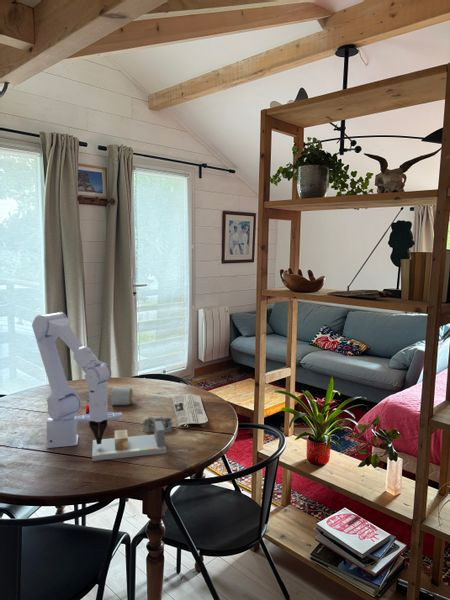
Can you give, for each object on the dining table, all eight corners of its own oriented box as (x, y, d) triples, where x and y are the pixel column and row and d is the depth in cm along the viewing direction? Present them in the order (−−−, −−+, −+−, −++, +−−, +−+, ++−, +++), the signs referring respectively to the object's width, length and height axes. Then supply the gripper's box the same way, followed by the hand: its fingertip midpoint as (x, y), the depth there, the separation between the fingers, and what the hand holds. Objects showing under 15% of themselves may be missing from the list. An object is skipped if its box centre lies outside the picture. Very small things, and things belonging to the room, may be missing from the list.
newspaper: (171, 399, 195) (171, 392, 194) (199, 398, 197) (199, 390, 197) (178, 431, 160) (178, 422, 160) (212, 429, 163) (212, 420, 163)
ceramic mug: (131, 407, 183) (131, 389, 182) (111, 407, 182) (110, 389, 181) (133, 399, 193) (133, 382, 193) (114, 399, 192) (114, 382, 192)
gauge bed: (92, 460, 136) (91, 439, 135) (92, 444, 147) (92, 424, 147) (166, 453, 142) (166, 432, 141) (161, 437, 154) (161, 418, 153)
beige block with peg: (115, 452, 138) (115, 441, 138) (114, 440, 147) (114, 430, 146) (128, 451, 139) (128, 440, 139) (126, 439, 148) (126, 429, 147)
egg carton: (141, 433, 158) (141, 422, 157) (145, 425, 165) (145, 414, 165) (170, 434, 158) (170, 423, 157) (173, 425, 165) (173, 415, 165)
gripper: (73, 408, 135) (74, 450, 136) (122, 404, 138) (122, 445, 140) (75, 400, 141) (75, 441, 143) (121, 397, 145) (121, 436, 147)
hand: (99, 442), depth 142 cm, fingers closed
